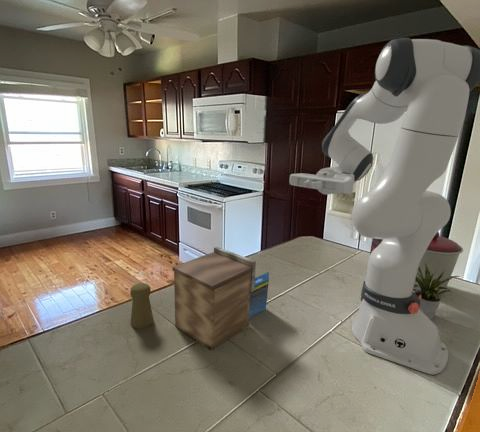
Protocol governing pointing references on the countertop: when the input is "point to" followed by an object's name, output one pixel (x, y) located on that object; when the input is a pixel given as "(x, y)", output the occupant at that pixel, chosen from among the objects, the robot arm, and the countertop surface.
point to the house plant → (430, 291)
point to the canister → (439, 259)
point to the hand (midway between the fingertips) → (308, 185)
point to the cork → (141, 306)
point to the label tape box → (259, 295)
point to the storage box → (212, 309)
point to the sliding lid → (217, 268)
